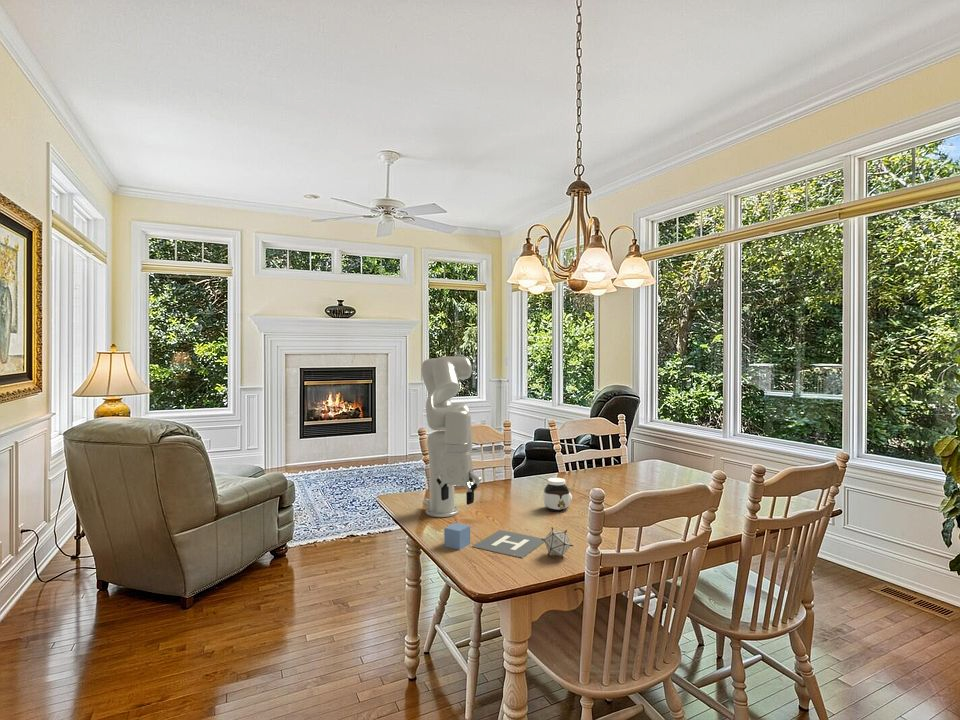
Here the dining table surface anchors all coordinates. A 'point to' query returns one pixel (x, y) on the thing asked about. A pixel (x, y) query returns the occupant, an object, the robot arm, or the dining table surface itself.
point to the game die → (557, 542)
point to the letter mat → (509, 543)
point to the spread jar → (557, 495)
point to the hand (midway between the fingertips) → (457, 501)
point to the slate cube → (457, 536)
